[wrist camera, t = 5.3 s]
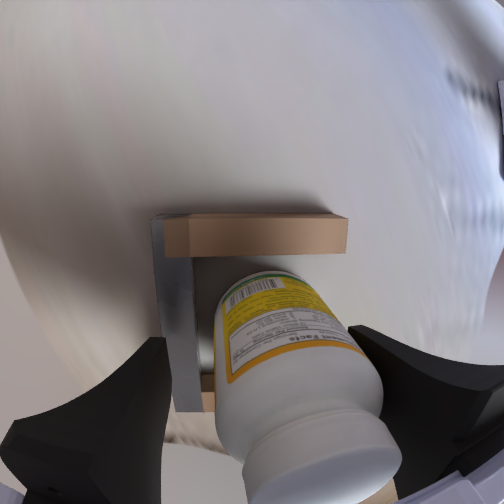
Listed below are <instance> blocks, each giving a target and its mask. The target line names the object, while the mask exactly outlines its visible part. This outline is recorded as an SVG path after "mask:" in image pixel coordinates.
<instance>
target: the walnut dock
mask: <svg viewBox="0 0 504 504" xmlns="http://www.w3.org/2000/svg"><path fill="white" fill-rule="evenodd" d="M347 230H348V219H347V218H345V217H342V216H339V215H336V214H315V213H213V214H171V215H157V216H156V217H155V218H153V219H152V220H151V232H152V248H153V261H154V272H155V283H156V293H157V301H158V310H159V318H160V325H161V332H162V337H166V343H167V350H168V356H169V362H170V368H171V374H172V396H173V401H174V406H175V410H176V412H215V397H214V374H201V364H200V353H199V342H198V330H197V317H196V303H195V287H194V268H193V257H216V256H259V255H301V254H340V253H346V243H347Z"/></svg>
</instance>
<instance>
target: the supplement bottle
mask: <svg viewBox="0 0 504 504" xmlns="http://www.w3.org/2000/svg"><path fill="white" fill-rule="evenodd" d="M214 397H215V425H216V431H217V434H218V437H219V440H220V442H221V443H222V445H223V447H224V448H225V450H226V451H227V452H228V453H229V454H230V455H231V456H232V457H233V458H234V459H236V460H237V461H239V462H240V463H242V464H243V465H244V466H243V470H242V476H243V479H244V483H245V489H246V495H247V501H248V504H357V503H359V502H361V501H363V500H364V499H366V498H368V497H369V496H371V495H373V494H374V493H375V492H377V491H378V490H380V489H381V488H382V487H383V486H385V485H386V484H387V483H388V482H389V481H390V480H391V479H392V477H393V476H394V475H395V474H396V472H397V471H398V469H399V467H400V465H401V462H402V454H401V451H400V449H399V447H398V446H397V444H396V442H395V440H394V438H393V437H392V435H391V434H390V432H389V430H388V428H387V426H386V425H385V423H384V422H382V421H381V420H380V419H379V416H380V414H381V410H382V406H383V386H382V381H381V378H380V376H379V374H378V372H377V370H376V369H375V367H374V366H373V364H372V363H371V362H370V360H369V359H368V358H367V356H366V355H365V354H364V352H363V351H362V350H361V348H360V347H359V346H358V345H357V343H356V342H355V341H354V339H353V338H352V337H351V335H350V334H349V333H348V332H347V330H346V329H345V328H344V327H343V325H342V324H341V323H340V322H339V321H338V319H337V318H336V317H335V315H334V314H333V313H332V312H331V310H330V309H329V308H328V307H327V305H326V304H325V303H324V301H323V300H322V299H321V298H320V296H319V295H318V294H317V293H316V291H315V290H314V289H313V288H312V287H311V286H310V285H309V284H308V283H307V282H306V281H305V280H303V279H301V278H300V277H298V276H295V275H293V274H290V273H287V272H282V271H264V272H259V273H255V274H252V275H249V276H247V277H245V278H243V279H241V280H239V281H238V282H236V283H235V284H234V285H232V286H231V287H230V288H229V289H228V290H227V292H226V293H225V294H224V295H223V297H222V298H221V300H220V302H219V304H218V306H217V309H216V312H215V317H214Z"/></svg>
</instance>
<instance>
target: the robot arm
mask: <svg viewBox="0 0 504 504" xmlns="http://www.w3.org/2000/svg"><path fill="white" fill-rule="evenodd" d="M498 87H499V93H500V101H501V109H502V119H503V133H504V81H503V80H500V81H499V82H498ZM348 333H349V334H350V335H351V337H352V338H353V339H354V341H355V342H356V343H357V345H358V346H359V347H360V348H361V350H362V351H363V352H364V354H365V355H366V356H367V358H368V359H369V360H370V362H371V363H372V364H373V366H374V367H375V369H376V370H377V372H378V374H379V376H380V378H381V381H382V386H383V406H382V410H381V414H380V416H379V419H380V420H381V421H382V422H384V423H385V425H386V426H387V428H388V430H389V432H390V434H391V435H392V437H393V438H394V440H395V442H396V444H397V446H398V447H399V449H400V451H401V454H402V462H401V465H400V467H399V469H398V471H397V472H396V474H395V475H394V476H393V479H394V483H395V487H396V491H397V495H398V500H399V501H396V502H394V503H391V504H502V502H504V365H476V364H468V363H463V362H457V361H452V360H448V359H444V358H441V357H437V356H434V355H431V354H428V353H425V352H422V351H420V350H417V349H415V348H412V347H410V346H408V345H405V344H403V343H401V342H399V341H396V340H394V339H392V338H390V337H388V336H386V335H384V334H382V333H380V332H377V331H375V330H373V329H371V328H369V327H366V326H363V325H357V326H349V327H348ZM171 393H172V374H171V368H170V362H169V356H168V350H167V343H166V337H150V338H149V339H148V340H147V341H146V342H145V343H144V344H143V345H142V346H141V347H140V348H139V349H138V350H137V351H136V352H135V353H134V354H133V355H132V356H131V357H130V358H129V359H128V360H127V361H126V362H125V363H124V364H123V365H122V366H120V367H119V368H118V369H117V370H116V371H115V372H113V373H112V374H111V375H110V376H109V377H108V378H106V379H105V380H104V381H102V382H101V383H100V384H98V385H97V386H95V387H94V388H92V389H91V390H89V391H88V392H86V393H84V394H82V395H81V396H79V397H77V398H75V399H74V400H71V401H70V402H68V403H66V404H63V405H61V406H59V407H57V408H54V409H52V410H49V411H46V412H43V413H41V414H37V415H34V416H30V417H27V418H23V419H18V420H14V422H13V424H12V425H11V427H10V429H9V430H8V432H7V434H6V436H5V438H4V440H3V441H2V443H1V445H0V457H1V459H2V461H3V462H4V464H5V465H6V466H7V468H8V469H9V470H10V471H11V472H12V473H13V475H14V476H15V477H16V478H17V479H18V480H19V481H20V482H21V483H22V484H23V485H24V486H25V487H26V488H27V492H26V495H25V496H24V495H23V494H21V493H20V492H18V491H16V490H14V489H12V488H10V487H8V486H6V485H4V484H2V483H0V504H161V456H162V446H163V440H164V435H165V429H166V424H167V419H168V413H169V408H170V403H171Z"/></svg>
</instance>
